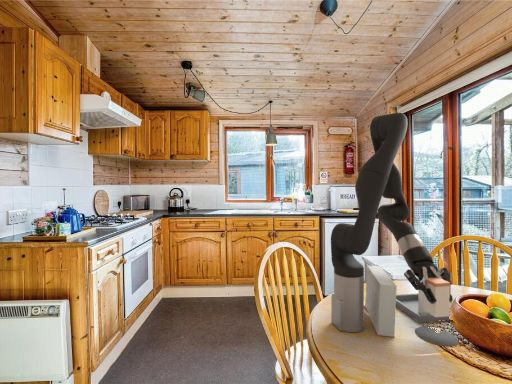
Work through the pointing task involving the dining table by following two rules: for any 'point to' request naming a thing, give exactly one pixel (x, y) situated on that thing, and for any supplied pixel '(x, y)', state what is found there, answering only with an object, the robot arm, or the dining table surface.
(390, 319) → the skincare box
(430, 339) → the slate mat
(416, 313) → the parts tray
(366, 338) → the dining table surface
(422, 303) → the white lid box
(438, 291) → the rust lid box
